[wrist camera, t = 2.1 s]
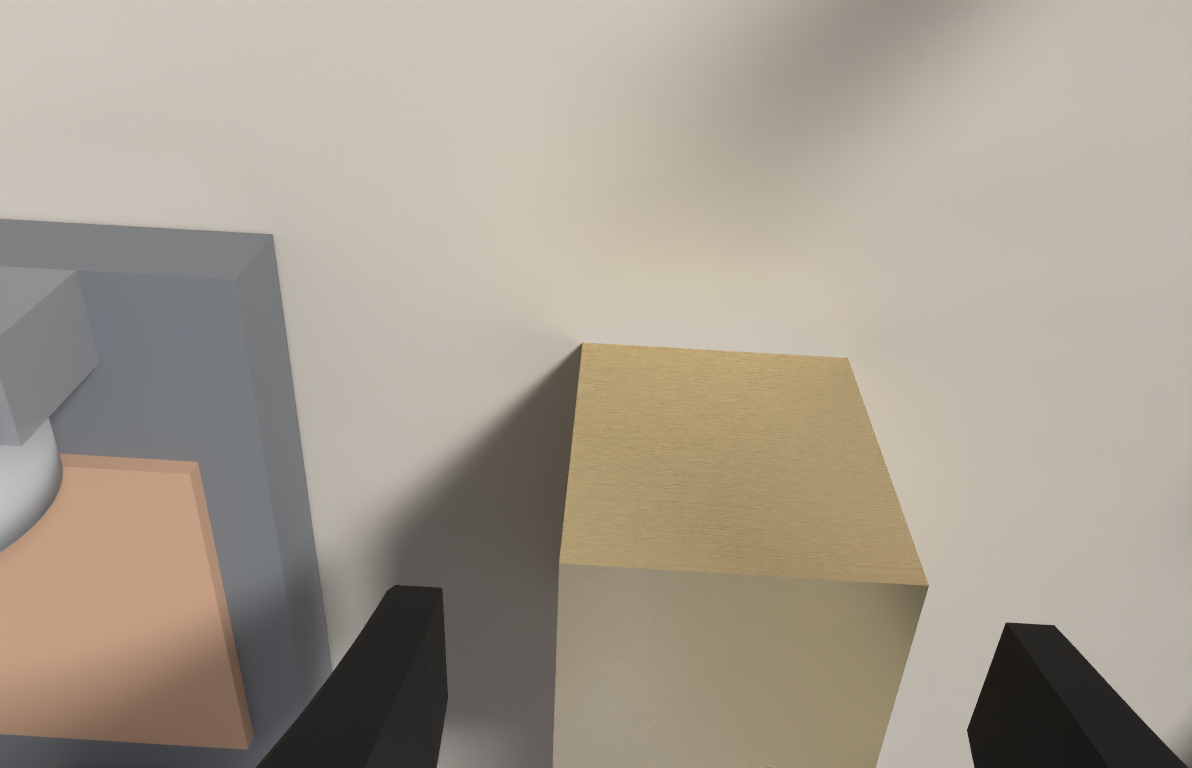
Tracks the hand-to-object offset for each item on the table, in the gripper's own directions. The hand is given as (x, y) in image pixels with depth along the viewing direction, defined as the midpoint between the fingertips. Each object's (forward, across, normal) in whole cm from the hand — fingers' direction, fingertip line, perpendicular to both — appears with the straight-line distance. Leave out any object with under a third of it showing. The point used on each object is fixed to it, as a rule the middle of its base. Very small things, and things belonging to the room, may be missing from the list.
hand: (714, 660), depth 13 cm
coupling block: (+4, 0, 0) cm, 4 cm away
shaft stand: (+4, +10, +2) cm, 11 cm away
